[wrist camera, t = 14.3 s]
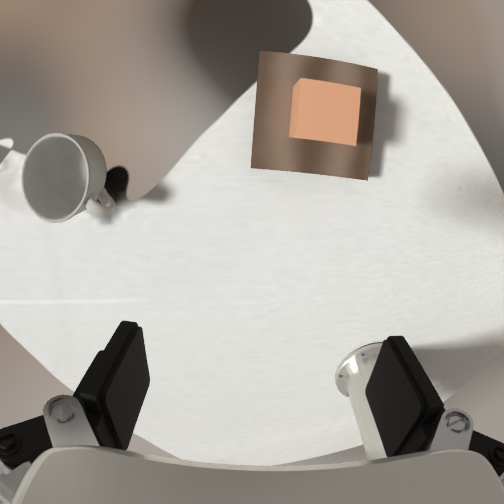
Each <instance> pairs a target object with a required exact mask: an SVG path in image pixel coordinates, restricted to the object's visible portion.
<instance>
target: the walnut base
mask: <svg viewBox="0 0 504 504" xmlns="http://www.w3.org/2000/svg"><path fill="white" fill-rule="evenodd" d="M377 74H378V69H375V68H370V67H366V66H361V65H357V64H352V63H347V62H342V61H336V60H331V59H325V58H319V57H312V56H305V55H297V54H289V53H279V52H268V51H260V55H259V67H258V79H257V92H256V105H255V118H254V132H253V145H252V158H251V168H257V169H270V170H281V171H292V172H302V173H312V174H321V175H329V176H338V177H346V178H353V179H360V180H367V181H368V174H369V166H370V158H371V149H372V140H373V130H374V119H375V106H376V92H377ZM300 78H305V79H313V80H320V81H326V82H332V83H338V84H344V85H349V86H354V87H359V88H361V96H360V109H359V121H358V131H357V141H356V146H353V145H346V144H339V143H332V142H325V141H318V140H310V139H301V138H292V137H289V132H290V120H291V108H292V96H293V86H294V85H295V84H296V83H297V82H298V81H299V79H300Z"/></svg>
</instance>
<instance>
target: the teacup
mask: <svg viewBox="0 0 504 504" xmlns="http://www.w3.org/2000/svg"><path fill="white" fill-rule="evenodd" d="M106 170H107V169H106V163H105V159H104V156H103V154H102V152H101V150H100V149H99V147H98V146H97V145H96V144H95V143H94V142H93V141H91V140H89V139H88V138H86V137H83V136H79V135H71V134H64V133H51V134H48V135H45V136H43V137H42V138H40V139H39V140H38V141H37V142H36V143H35V144H34V145H33V146H32V147H31V149H30V150H29V152H28V154H27V155H26V158H25V161H24V164H23V168H22V175H21V180H22V189H23V193H24V197H25V200H26V202H27V204H28V205H29V207H30V209H31V210H32V211H33V212H34V213H35V214H36V215H37V216H38V217H39V218H41V219H43V220H45V221H48V222H52V223H57V222H63V221H66V220H68V219H70V218H71V217H73V216H74V215H76V214H78V213H80V212H82V211H84V210H86V209H88V211H89V212H91V213H92V214H93V215H95V216H97V217H100V218H109V217H110V216H112V214H113V213H114V210H115V202H114V200H113V199H112V198H111V196H110V195H109V194H108V193H107V190H106V189H105V188H104V185H105V181H106ZM97 199H99V201H100V202H101V203H102V204H103V205H102V204H100V203H98V202H97V201H96V200H97Z"/></svg>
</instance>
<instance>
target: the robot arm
mask: <svg viewBox="0 0 504 504" xmlns="http://www.w3.org/2000/svg"><path fill="white" fill-rule="evenodd" d="M335 381H336V385H337V388H338V390H339V391H340V392H341V393H342V394H343V395H345V396H347V397H349V398H350V401H351V404H352V407H353V411H354V414H355V417H356V421H357V424H358V427H359V431H360V434H361V438H362V441H363V445H364V448H365V451H366V455H367V458H368V460H366V461H357V462H348V463H337V464H324V465H306V466H249V465H230V464H216V463H205V462H196V461H188V460H180V459H173V458H166V457H160V456H153V455H147V454H142V453H136V452H131V451H126V450H127V448H128V445H129V442H130V439H131V436H132V433H133V430H134V427H135V424H136V422H137V419H138V416H139V413H140V410H141V407H142V404H143V401H144V399H145V396H146V393H147V390H148V387H149V383H150V376H149V370H148V364H147V358H146V351H145V345H144V338H143V331H142V327H139V326H138V324H137V323H136V322H130V321H122V322H121V323H120V324H119V326H118V328H117V329H116V331H115V333H114V334H113V336H112V338H111V339H110V341H109V343H108V344H107V346H106V348H105V349H104V351H102V350H101V351H99V352H98V353H97V355H96V357H95V358H94V360H93V362H92V363H91V365H90V367H89V368H88V370H87V372H86V373H85V375H84V377H83V379H82V380H81V382H80V384H79V385H78V387H77V389H76V391H75V392H74V394H73V396H70V395H58V396H55V397H53V398H51V399H50V400H49V401H47V403H46V404H45V406H44V409H43V415H42V416H39V417H36V418H33V419H30V420H27V421H24V422H21V423H18V424H15V425H11V426H8V427H5V428H2V429H0V504H504V444H503V443H502V442H499V441H497V440H494V439H492V438H490V437H488V436H485V435H483V434H481V433H479V432H476V431H474V430H473V421H472V419H471V417H470V416H469V415H468V414H467V413H466V412H464V411H462V410H460V409H448V410H446V411H445V409H444V407H443V406H444V404H443V402H442V400H441V399H440V397H439V395H438V393H437V392H436V390H435V388H434V386H433V385H432V383H431V381H430V379H429V378H428V376H427V374H426V373H425V371H424V369H423V368H422V366H421V364H420V363H419V361H418V359H417V358H416V356H415V354H414V353H413V351H412V349H411V348H410V346H409V345H408V343H407V341H406V340H405V338H404V337H403V336H389V337H388V338H387V340H384V341H383V343H376V344H370V345H367V346H364V347H362V348H360V349H357V350H356V351H354V352H353V353H351V354H350V355H349V356H347V357H346V358H345V359H344V360H343V361H342V363H341V364H340V365H339V367H338V369H337V371H336V375H335Z"/></svg>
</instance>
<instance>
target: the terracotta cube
mask: <svg viewBox="0 0 504 504" xmlns="http://www.w3.org/2000/svg"><path fill="white" fill-rule="evenodd" d="M360 96H361V88H359V87H354V86H349V85H344V84H338V83H332V82H326V81H320V80H313V79H305V78H300V79H299V81H298V82H297V83H296V84H295V85H294V86H293V96H292V108H291V120H290V132H289V137H292V138H301V139H310V140H318V141H325V142H332V143H339V144H346V145H353V146H356V141H357V131H358V121H359V109H360Z"/></svg>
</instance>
